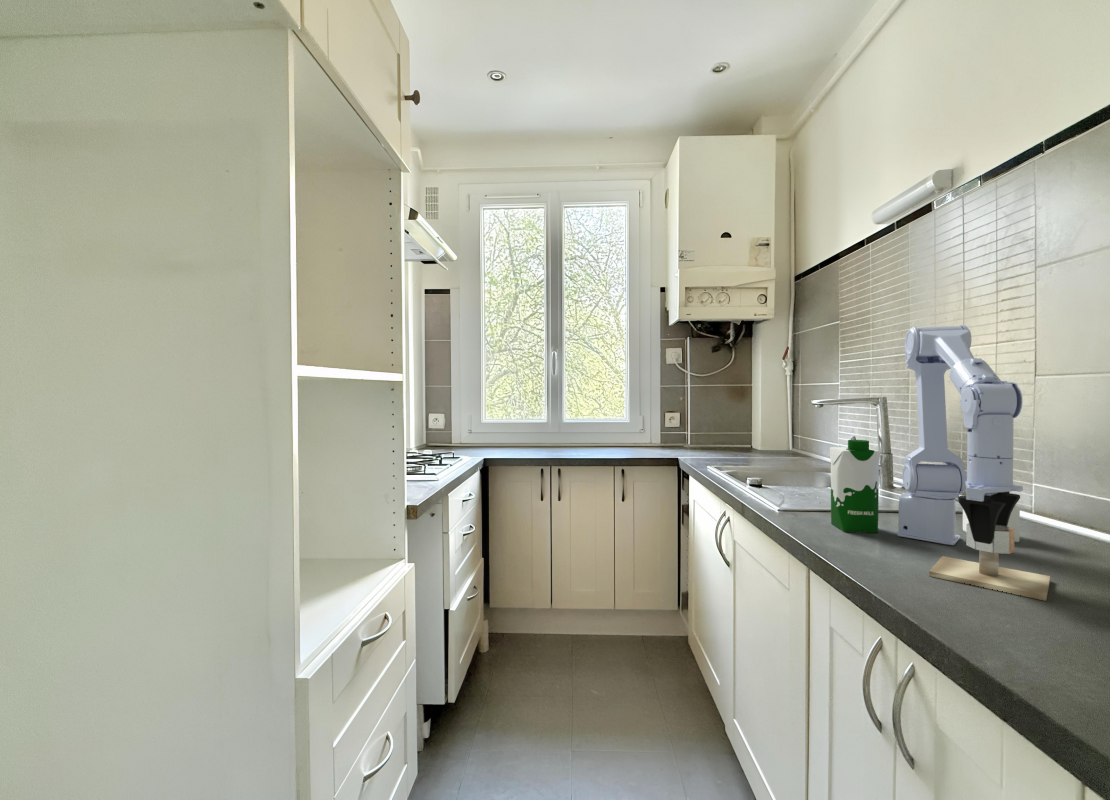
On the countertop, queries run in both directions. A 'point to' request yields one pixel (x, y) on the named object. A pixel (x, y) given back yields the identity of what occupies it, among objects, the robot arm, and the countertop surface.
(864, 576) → the countertop surface
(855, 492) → the milk carton
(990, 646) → the countertop surface
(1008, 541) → the collar
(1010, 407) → the robot arm
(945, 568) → the duct board
